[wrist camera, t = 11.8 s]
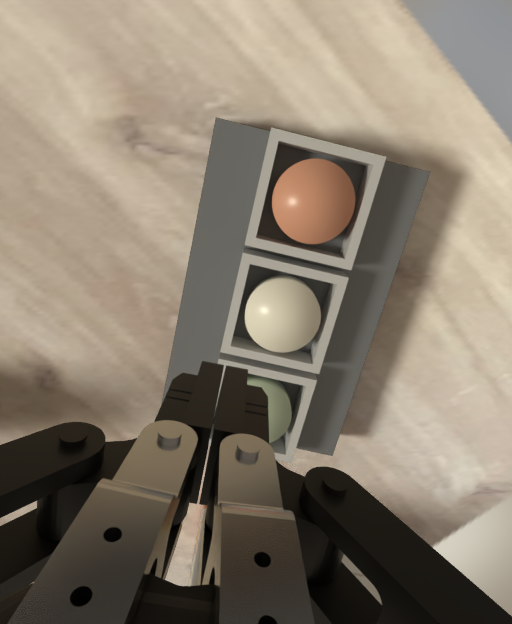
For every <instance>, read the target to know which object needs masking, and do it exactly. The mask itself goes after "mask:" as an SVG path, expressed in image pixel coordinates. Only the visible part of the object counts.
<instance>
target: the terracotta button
mask: <svg viewBox="0 0 512 624" xmlns="http://www.w3.org/2000/svg"><path fill="white" fill-rule="evenodd" d="M354 208H355V192H354V187H353V184H352V182H351V180H350V178H349V177H348V175H347V174H346V173H345V171H344V170H343V169H342V168H341V167H339V166H338V165H336V164H335V163H333V162H331V161H328V160H324V159H307V160H303V161H300V162H298V163H296V164H294V165H292V166H291V167H289V168H288V169H287V170H286V171H285V172H284V173H283V174H282V175H281V176H280V177H279V179H278V181H277V182H276V185H275V187H274V190H273V194H272V210H273V214H274V217H275V219H276V222H277V224H278V225H279V227H280V228H281V230H282V231H283V232H284V233H285V234H286V235H288V236H289V237H290V238H292V239H294V240H296V241H298V242H301V243H306V244H319V243H323V242H326V241H329V240H331V239H333V238H334V237H336V236H337V235H339V234H340V233H341V232H342V231H343V230H344V229H345V228H346V226H347V225H348V223H349V221H350V220H351V218H352V215H353V212H354Z"/></svg>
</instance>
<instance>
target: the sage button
mask: <svg viewBox="0 0 512 624" xmlns="http://www.w3.org/2000/svg"><path fill="white" fill-rule="evenodd" d="M247 385H252V386H257V387H262V389H263V390H264V392H265V393H266V395H267V396H268V414H269V415H268V417H269V443H271V442H274V441H275V440H277V439H279V438H280V437H281V436H282V435H283V434H284V433H285V432H286V431H287V429H288V427H289V425H290V423H291V418H292V411H291V403H290V397H289V394H288V392H287V390H286V388H285V387H284V386H283V385H282V384H281V383H280V382H279V381H278V380H276V379H271V378H267V377H262V376H258V375H253V374H249V375H248V378H247Z"/></svg>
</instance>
